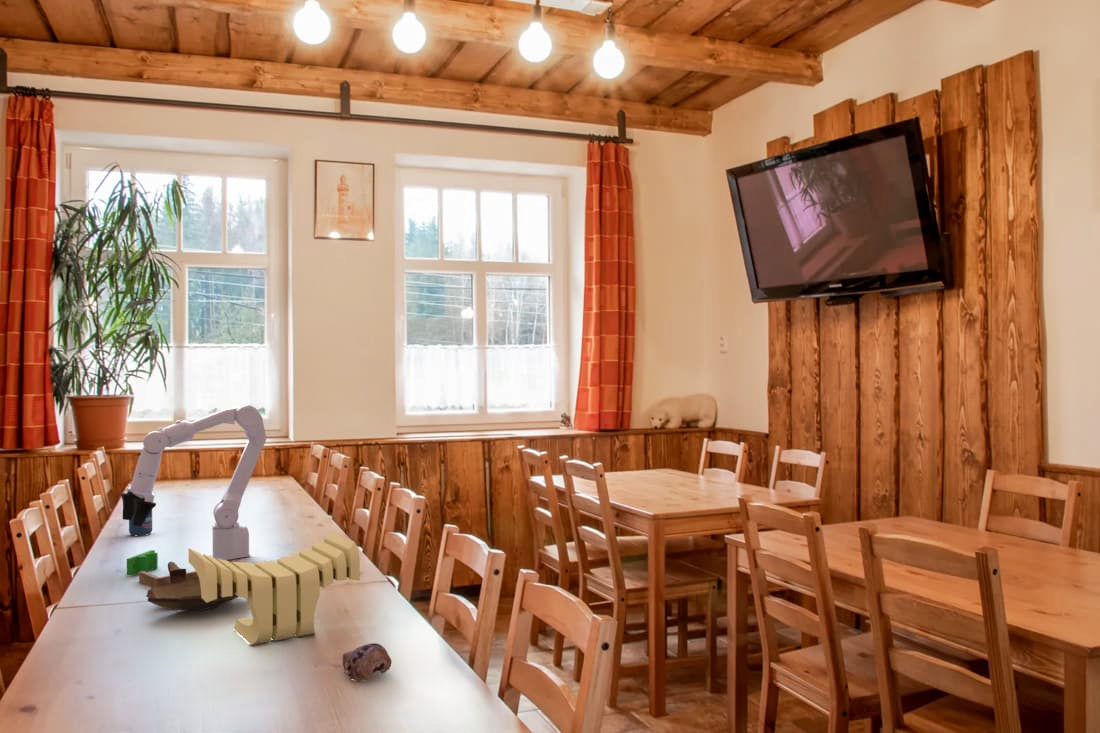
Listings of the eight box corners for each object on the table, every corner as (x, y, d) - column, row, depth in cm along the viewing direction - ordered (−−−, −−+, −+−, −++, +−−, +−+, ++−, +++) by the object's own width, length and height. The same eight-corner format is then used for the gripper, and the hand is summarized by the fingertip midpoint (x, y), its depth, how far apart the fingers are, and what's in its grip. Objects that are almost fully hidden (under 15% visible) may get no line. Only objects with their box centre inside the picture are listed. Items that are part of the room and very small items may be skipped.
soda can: (146, 536, 285) (145, 499, 285) (124, 536, 285) (124, 499, 285) (156, 532, 292) (156, 496, 292) (135, 532, 292) (135, 496, 292)
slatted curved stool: (206, 657, 165) (206, 562, 165) (189, 636, 178) (188, 548, 178) (360, 630, 181) (359, 543, 181) (333, 612, 194) (332, 532, 194)
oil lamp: (142, 628, 184) (142, 592, 184) (149, 594, 212) (149, 562, 212) (255, 616, 192) (255, 581, 192) (248, 585, 220) (247, 554, 220)
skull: (332, 669, 158) (332, 635, 158) (373, 661, 162) (373, 628, 162) (355, 689, 148) (355, 653, 148) (398, 680, 152) (398, 645, 152)
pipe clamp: (140, 576, 231) (139, 559, 231) (126, 576, 231) (126, 559, 231) (163, 566, 242) (163, 549, 242) (151, 566, 242) (150, 549, 242)
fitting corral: (209, 569, 237) (209, 560, 237) (228, 576, 230) (228, 566, 230) (139, 581, 224) (138, 571, 224) (156, 589, 216) (156, 578, 216)
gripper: (121, 467, 246) (107, 515, 245) (141, 476, 236) (126, 526, 235) (146, 471, 251) (133, 518, 250) (166, 480, 241) (152, 529, 239)
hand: (131, 522), depth 242 cm, fingers open, 7 cm apart
